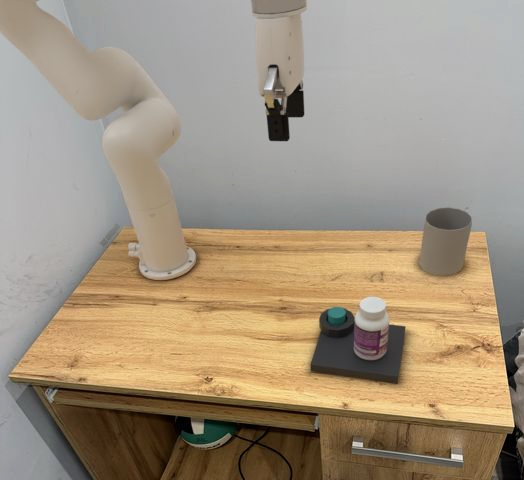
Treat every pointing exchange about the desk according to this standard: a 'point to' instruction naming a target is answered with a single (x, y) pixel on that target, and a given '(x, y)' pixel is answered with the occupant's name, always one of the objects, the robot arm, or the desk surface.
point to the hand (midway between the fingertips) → (287, 128)
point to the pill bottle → (371, 329)
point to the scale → (345, 359)
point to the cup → (445, 241)
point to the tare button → (336, 315)
